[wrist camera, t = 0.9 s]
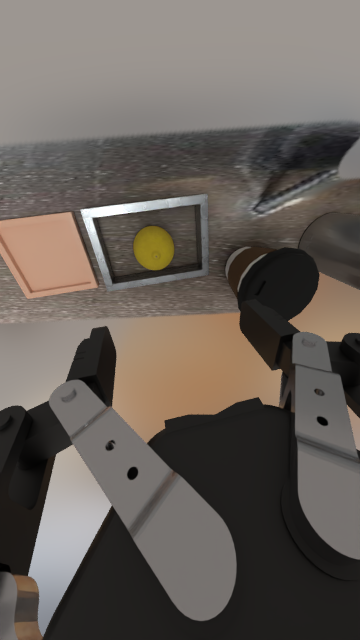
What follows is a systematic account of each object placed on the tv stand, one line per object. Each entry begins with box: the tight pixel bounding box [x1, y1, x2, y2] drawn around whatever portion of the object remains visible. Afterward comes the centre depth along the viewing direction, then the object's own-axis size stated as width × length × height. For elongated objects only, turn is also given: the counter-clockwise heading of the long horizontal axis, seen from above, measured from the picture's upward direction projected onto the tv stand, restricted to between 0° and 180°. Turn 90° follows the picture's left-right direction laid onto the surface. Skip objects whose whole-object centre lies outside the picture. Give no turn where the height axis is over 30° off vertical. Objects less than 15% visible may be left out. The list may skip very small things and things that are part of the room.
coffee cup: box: [225, 247, 319, 321], centre depth 30 cm, size 11×11×12 cm
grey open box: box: [81, 194, 209, 291], centre depth 29 cm, size 16×11×3 cm
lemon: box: [133, 226, 174, 270], centre depth 27 cm, size 6×6×8 cm
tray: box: [0, 211, 99, 299], centre depth 28 cm, size 11×11×1 cm
